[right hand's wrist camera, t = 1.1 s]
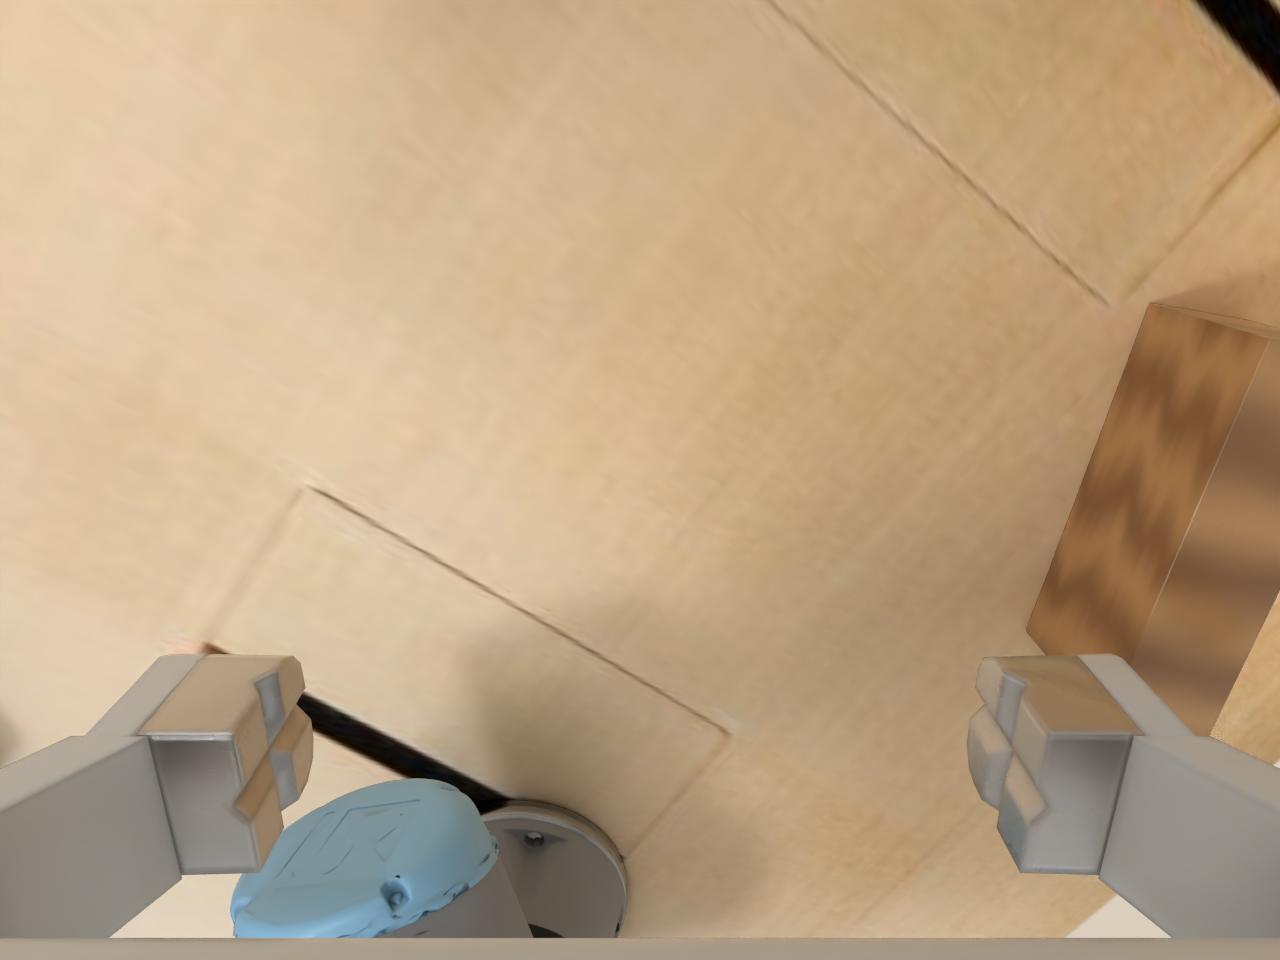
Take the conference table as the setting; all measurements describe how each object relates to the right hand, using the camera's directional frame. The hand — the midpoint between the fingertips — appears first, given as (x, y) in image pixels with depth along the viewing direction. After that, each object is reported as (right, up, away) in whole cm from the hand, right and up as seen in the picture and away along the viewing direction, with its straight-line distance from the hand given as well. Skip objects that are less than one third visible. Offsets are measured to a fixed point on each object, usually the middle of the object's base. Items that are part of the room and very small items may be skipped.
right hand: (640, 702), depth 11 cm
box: (+30, +2, +43) cm, 52 cm away
